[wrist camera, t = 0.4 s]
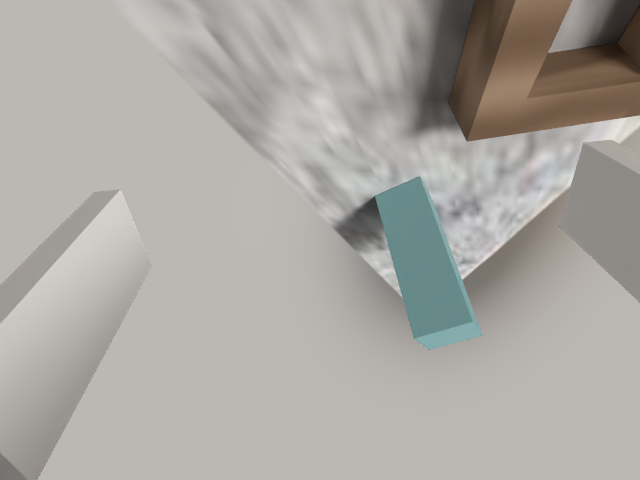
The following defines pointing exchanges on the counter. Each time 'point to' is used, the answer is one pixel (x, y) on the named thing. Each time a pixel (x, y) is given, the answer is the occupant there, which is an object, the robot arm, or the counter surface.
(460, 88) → the block
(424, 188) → the teal peg
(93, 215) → the robot arm
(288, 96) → the counter surface
